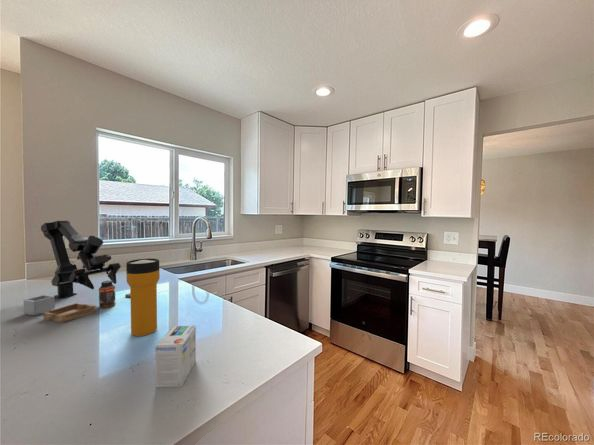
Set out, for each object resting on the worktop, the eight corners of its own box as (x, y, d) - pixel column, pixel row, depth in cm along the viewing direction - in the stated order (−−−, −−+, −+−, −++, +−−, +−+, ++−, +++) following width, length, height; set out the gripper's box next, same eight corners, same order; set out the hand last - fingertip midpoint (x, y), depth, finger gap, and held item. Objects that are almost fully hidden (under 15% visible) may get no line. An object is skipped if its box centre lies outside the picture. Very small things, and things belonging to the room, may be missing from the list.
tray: (43, 318, 99) (43, 312, 99) (77, 308, 110) (77, 302, 110) (63, 323, 95) (62, 316, 95) (95, 311, 106) (95, 305, 106)
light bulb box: (172, 362, 71) (172, 325, 71) (196, 361, 72) (196, 324, 71) (154, 388, 60) (153, 345, 60) (182, 387, 61) (182, 344, 61)
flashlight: (119, 261, 85) (145, 256, 94) (120, 335, 86) (146, 323, 95) (140, 263, 82) (165, 258, 91) (141, 340, 83) (166, 327, 92)
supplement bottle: (118, 304, 115) (118, 280, 115) (107, 308, 109) (107, 283, 109) (107, 303, 116) (106, 279, 115) (95, 308, 110) (95, 283, 110)
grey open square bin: (23, 314, 103) (23, 299, 103) (44, 307, 110) (44, 294, 110) (34, 316, 101) (33, 301, 101) (55, 309, 108) (54, 296, 107)
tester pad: (125, 297, 125) (125, 293, 125) (134, 293, 130) (134, 290, 130) (137, 298, 122) (137, 295, 122) (146, 295, 127) (146, 292, 127)
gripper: (72, 251, 106) (88, 279, 102) (118, 246, 123) (133, 270, 119) (62, 268, 109) (77, 296, 105) (108, 261, 126) (123, 284, 122)
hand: (104, 286), depth 113 cm, fingers open, 9 cm apart
